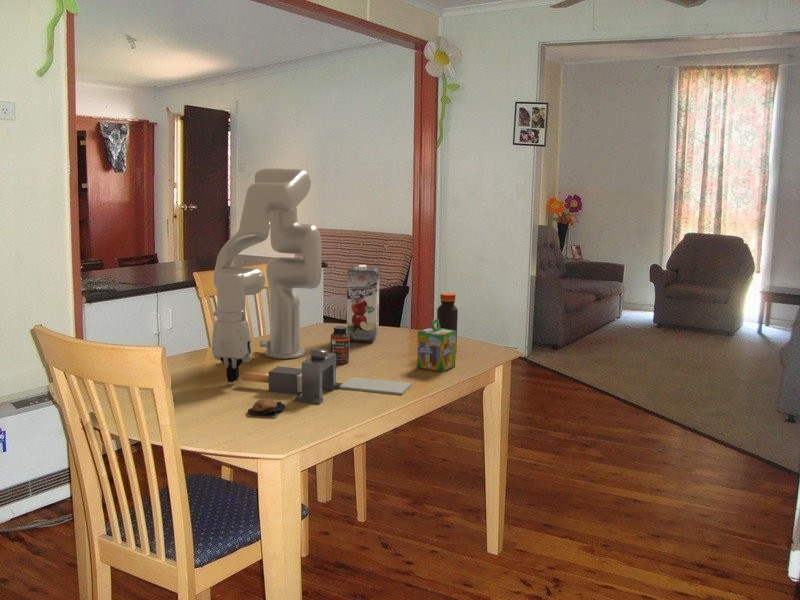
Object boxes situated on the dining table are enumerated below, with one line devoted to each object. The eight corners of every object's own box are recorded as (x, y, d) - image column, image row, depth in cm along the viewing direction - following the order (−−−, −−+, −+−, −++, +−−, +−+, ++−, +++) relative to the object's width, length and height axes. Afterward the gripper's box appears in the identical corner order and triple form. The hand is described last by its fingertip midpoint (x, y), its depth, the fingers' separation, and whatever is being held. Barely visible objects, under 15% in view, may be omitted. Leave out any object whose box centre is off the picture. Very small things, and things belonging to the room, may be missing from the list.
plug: (238, 389, 209) (238, 368, 208) (248, 383, 215) (248, 363, 214) (299, 395, 205) (299, 374, 204) (307, 389, 210) (307, 369, 209)
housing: (294, 401, 199) (294, 356, 197) (318, 384, 215) (318, 342, 213) (319, 404, 197) (319, 359, 195) (342, 386, 213) (342, 344, 211)
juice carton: (350, 336, 274) (351, 262, 270) (379, 338, 273) (380, 263, 268) (345, 342, 266) (346, 265, 261) (375, 344, 264) (376, 266, 259)
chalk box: (442, 372, 229) (443, 324, 227) (416, 368, 234) (417, 320, 232) (456, 366, 237) (458, 319, 235) (430, 361, 242) (432, 316, 239)
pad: (339, 388, 211) (339, 386, 211) (352, 379, 221) (352, 377, 221) (402, 395, 206) (402, 392, 206) (411, 385, 216) (412, 383, 216)
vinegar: (451, 350, 257) (453, 292, 254) (459, 355, 251) (461, 295, 247) (432, 351, 255) (434, 292, 252) (440, 356, 249) (442, 296, 245)
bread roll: (276, 421, 185) (276, 407, 185) (243, 419, 186) (243, 404, 186) (288, 407, 196) (288, 394, 195) (256, 405, 197) (256, 391, 196)
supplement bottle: (334, 365, 235) (334, 329, 233) (327, 360, 240) (327, 325, 238) (352, 363, 238) (352, 328, 236) (345, 359, 243) (345, 324, 241)
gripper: (200, 316, 208) (201, 381, 211) (249, 321, 204) (250, 387, 207) (214, 312, 215) (215, 374, 218) (262, 315, 211) (263, 379, 214)
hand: (232, 380), depth 213 cm, fingers closed
